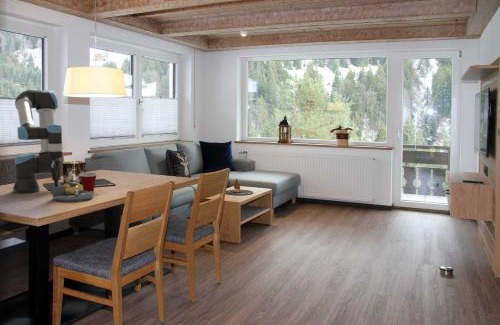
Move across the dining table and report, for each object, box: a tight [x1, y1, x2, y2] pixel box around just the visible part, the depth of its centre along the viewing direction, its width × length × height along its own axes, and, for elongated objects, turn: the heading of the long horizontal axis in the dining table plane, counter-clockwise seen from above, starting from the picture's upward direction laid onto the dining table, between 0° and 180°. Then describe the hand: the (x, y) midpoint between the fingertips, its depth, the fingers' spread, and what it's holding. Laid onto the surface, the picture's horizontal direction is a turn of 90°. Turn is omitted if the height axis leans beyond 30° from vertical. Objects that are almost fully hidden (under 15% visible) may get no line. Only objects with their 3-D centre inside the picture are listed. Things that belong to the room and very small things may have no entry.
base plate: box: [52, 190, 94, 203], centre depth 274 cm, size 22×22×6 cm
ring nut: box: [50, 181, 83, 196], centre depth 272 cm, size 18×11×6 cm, turn 120°
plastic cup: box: [78, 171, 98, 193], centre depth 293 cm, size 11×11×12 cm
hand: (57, 191), depth 272 cm, fingers closed
